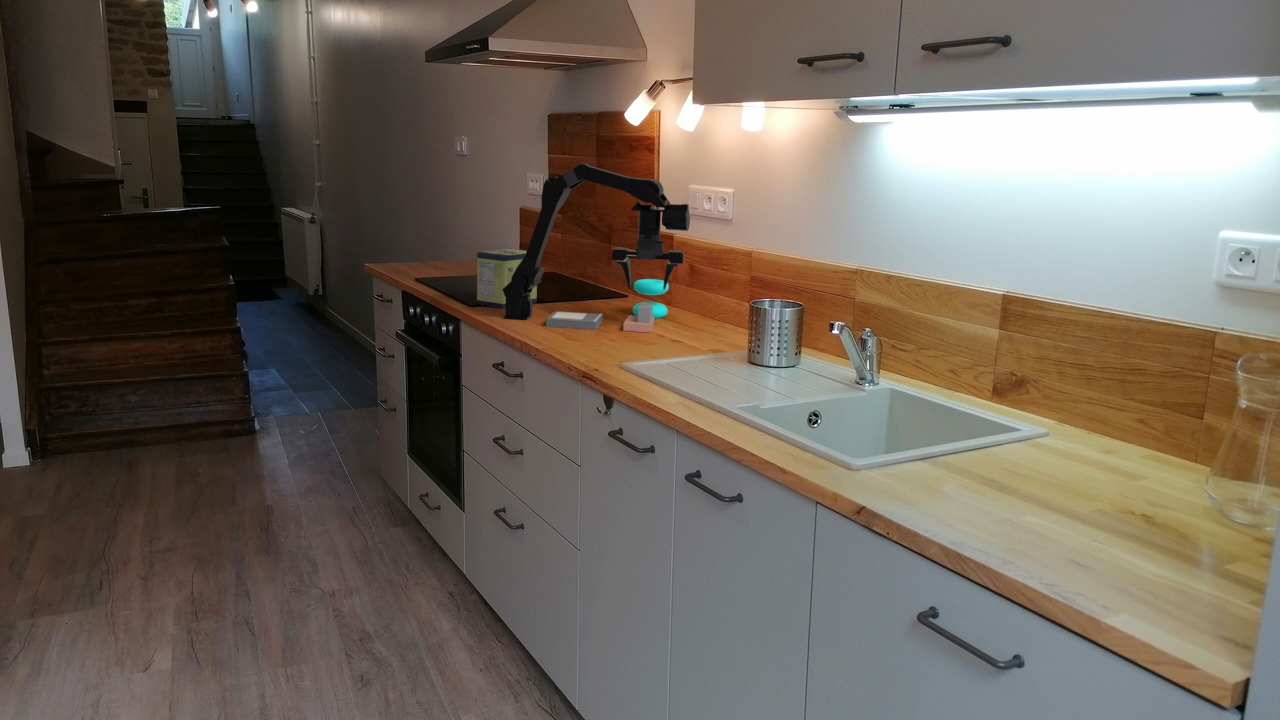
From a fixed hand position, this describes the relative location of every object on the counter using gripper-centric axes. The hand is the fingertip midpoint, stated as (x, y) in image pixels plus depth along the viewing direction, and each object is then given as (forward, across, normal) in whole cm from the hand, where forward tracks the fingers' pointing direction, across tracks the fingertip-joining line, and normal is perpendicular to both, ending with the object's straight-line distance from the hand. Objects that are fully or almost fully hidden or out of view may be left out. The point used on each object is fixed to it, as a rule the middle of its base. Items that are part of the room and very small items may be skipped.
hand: (646, 288), depth 246 cm
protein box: (+11, -44, +24) cm, 51 cm away
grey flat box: (+11, -19, 0) cm, 22 cm away
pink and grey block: (+11, -2, 0) cm, 11 cm away
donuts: (+11, -1, +19) cm, 22 cm away
